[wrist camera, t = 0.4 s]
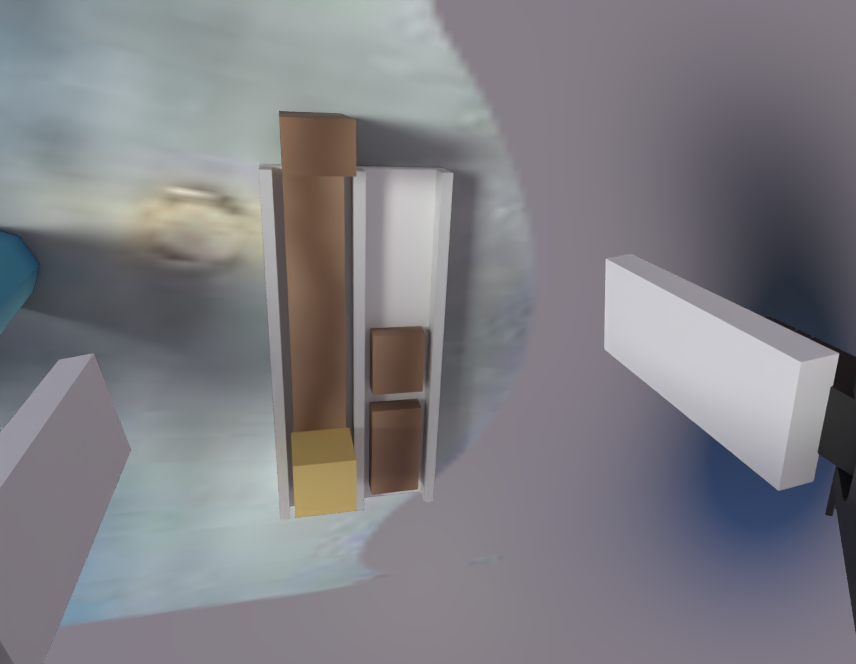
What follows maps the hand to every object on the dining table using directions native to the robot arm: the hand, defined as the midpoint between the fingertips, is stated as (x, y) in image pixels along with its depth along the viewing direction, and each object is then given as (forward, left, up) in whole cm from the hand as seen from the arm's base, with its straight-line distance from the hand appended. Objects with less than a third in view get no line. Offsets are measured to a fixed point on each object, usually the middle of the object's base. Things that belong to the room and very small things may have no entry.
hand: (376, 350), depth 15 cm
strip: (0, -10, -28) cm, 30 cm away
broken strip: (+6, -18, -28) cm, 34 cm away
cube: (0, -21, -26) cm, 34 cm away
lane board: (+3, -13, -29) cm, 32 cm away
